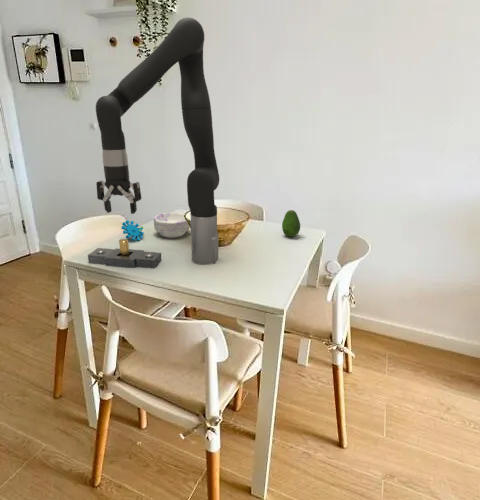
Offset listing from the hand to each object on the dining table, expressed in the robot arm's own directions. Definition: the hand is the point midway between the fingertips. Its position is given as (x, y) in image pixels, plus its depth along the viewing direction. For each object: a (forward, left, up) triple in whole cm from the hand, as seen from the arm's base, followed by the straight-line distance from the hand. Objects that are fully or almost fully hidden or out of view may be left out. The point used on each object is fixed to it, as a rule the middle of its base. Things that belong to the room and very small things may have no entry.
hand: (121, 212), depth 120 cm
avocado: (-58, -39, -18) cm, 72 cm away
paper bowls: (-7, -32, -18) cm, 37 cm away
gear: (+7, -23, -18) cm, 30 cm away
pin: (0, 0, -18) cm, 18 cm away
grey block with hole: (0, 0, -18) cm, 18 cm away
